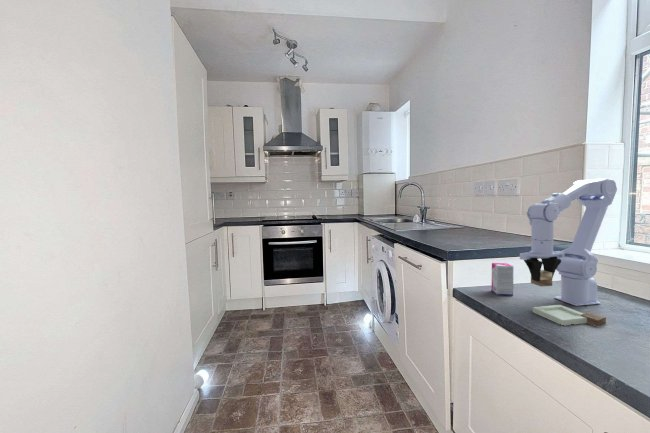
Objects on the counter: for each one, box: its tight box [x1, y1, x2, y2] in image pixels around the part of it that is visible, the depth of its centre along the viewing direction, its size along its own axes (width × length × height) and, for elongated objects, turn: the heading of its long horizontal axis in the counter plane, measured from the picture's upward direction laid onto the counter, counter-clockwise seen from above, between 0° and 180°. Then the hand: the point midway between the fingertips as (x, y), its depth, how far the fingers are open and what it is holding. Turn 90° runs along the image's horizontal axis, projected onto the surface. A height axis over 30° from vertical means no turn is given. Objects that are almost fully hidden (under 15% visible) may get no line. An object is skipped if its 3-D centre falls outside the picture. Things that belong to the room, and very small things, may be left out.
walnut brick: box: [581, 311, 607, 327], centre depth 80 cm, size 4×4×2 cm
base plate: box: [532, 304, 588, 326], centre depth 85 cm, size 10×10×2 cm
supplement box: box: [491, 262, 514, 297], centre depth 107 cm, size 6×6×12 cm
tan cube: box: [530, 269, 553, 287], centre depth 92 cm, size 4×4×4 cm
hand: (542, 279), depth 92 cm, fingers closed on tan cube, 4 cm apart
